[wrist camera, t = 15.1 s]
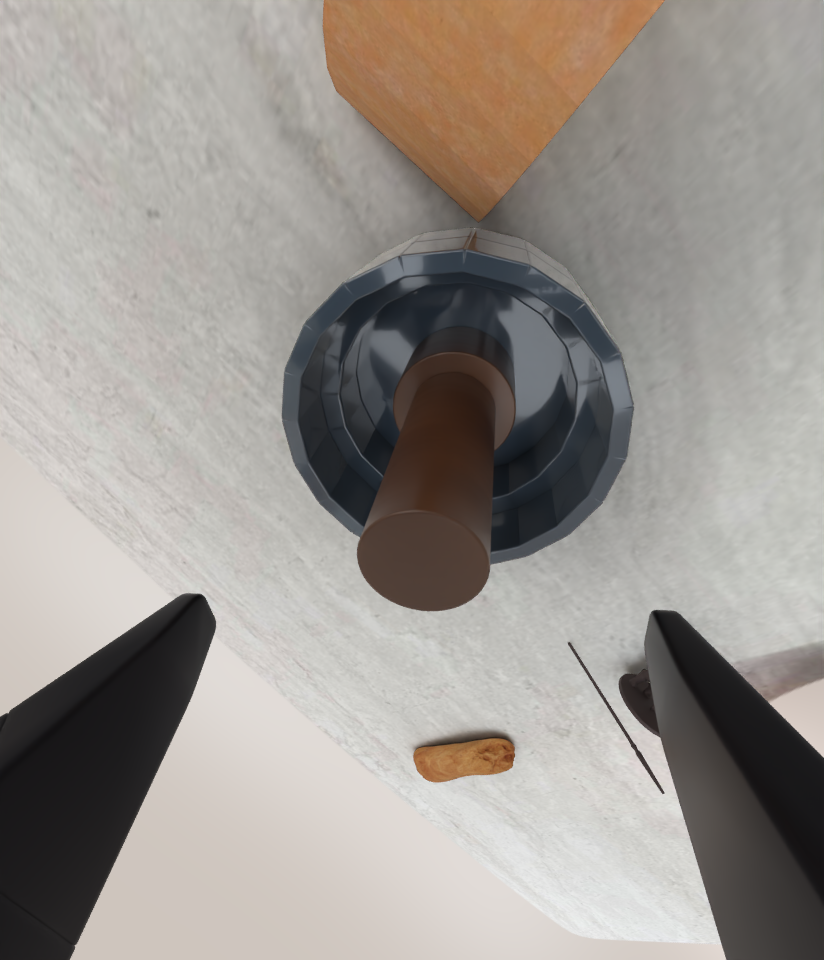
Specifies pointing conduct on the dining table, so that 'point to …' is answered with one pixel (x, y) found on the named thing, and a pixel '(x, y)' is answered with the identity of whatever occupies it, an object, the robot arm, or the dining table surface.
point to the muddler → (441, 473)
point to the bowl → (537, 369)
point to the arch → (474, 78)
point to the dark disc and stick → (634, 705)
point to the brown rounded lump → (464, 759)
